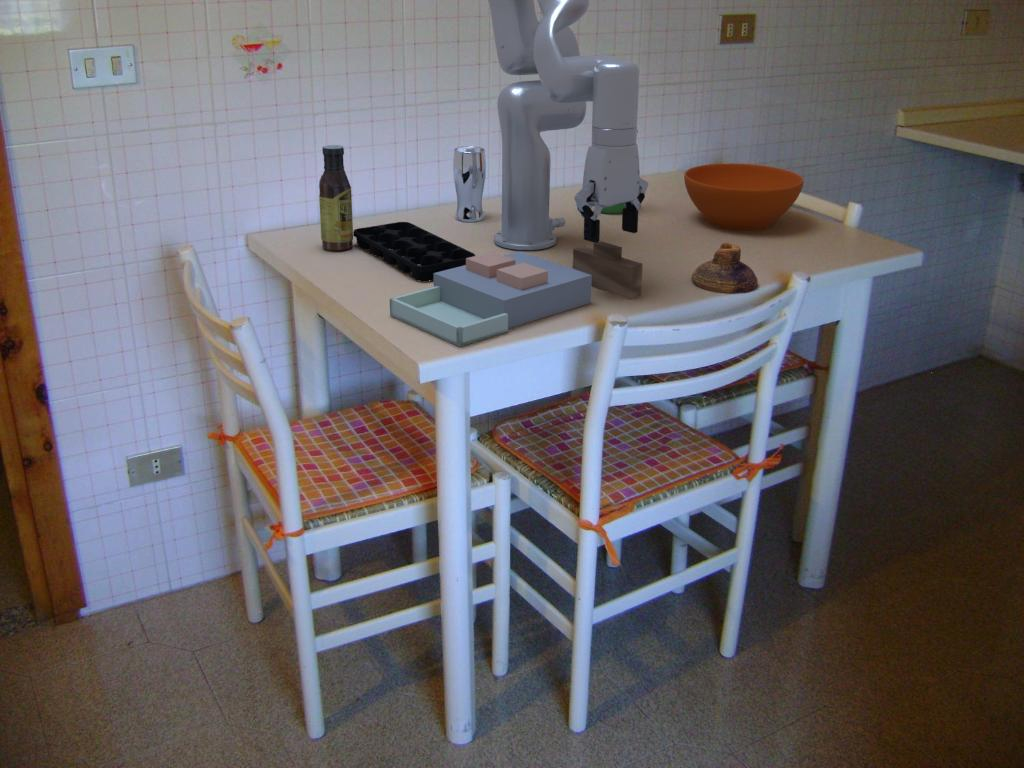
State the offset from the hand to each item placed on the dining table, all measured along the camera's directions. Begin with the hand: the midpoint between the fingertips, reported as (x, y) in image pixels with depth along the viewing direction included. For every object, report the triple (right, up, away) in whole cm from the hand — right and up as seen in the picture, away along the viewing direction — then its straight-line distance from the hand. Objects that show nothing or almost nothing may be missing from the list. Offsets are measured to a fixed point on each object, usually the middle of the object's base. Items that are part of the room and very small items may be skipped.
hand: (610, 236), depth 186 cm
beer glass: (-27, +10, +46) cm, 54 cm away
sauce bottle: (-52, +1, +25) cm, 57 cm away
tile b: (-16, -9, -9) cm, 20 cm away
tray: (-28, -16, -13) cm, 34 cm away
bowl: (+32, +10, +47) cm, 58 cm away
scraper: (-1, -9, +5) cm, 10 cm away
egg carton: (-36, -2, +19) cm, 41 cm away
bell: (+21, -8, +8) cm, 24 cm away
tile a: (-21, -6, -3) cm, 22 cm away
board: (-17, -12, -3) cm, 21 cm away
